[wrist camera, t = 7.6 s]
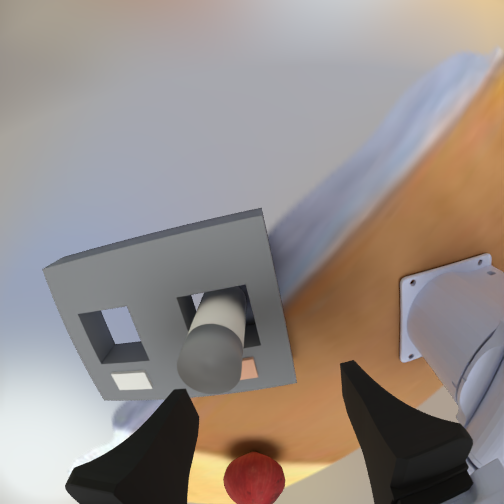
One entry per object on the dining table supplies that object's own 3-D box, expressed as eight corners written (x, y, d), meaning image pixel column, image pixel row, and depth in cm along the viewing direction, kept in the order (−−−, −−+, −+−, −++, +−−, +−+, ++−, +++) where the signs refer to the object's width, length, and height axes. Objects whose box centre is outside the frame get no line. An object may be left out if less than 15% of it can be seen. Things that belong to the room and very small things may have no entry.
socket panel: (261, 207, 20) (262, 216, 17) (292, 358, 23) (297, 385, 20) (63, 257, 21) (40, 270, 18) (116, 379, 24) (103, 402, 21)
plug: (241, 277, 21) (232, 340, 14) (251, 318, 22) (247, 390, 14) (197, 286, 22) (168, 348, 14) (208, 324, 22) (188, 396, 15)
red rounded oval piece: (290, 441, 26) (296, 506, 18) (274, 469, 28) (276, 527, 20) (232, 433, 26) (226, 500, 18) (222, 462, 27) (216, 521, 20)
